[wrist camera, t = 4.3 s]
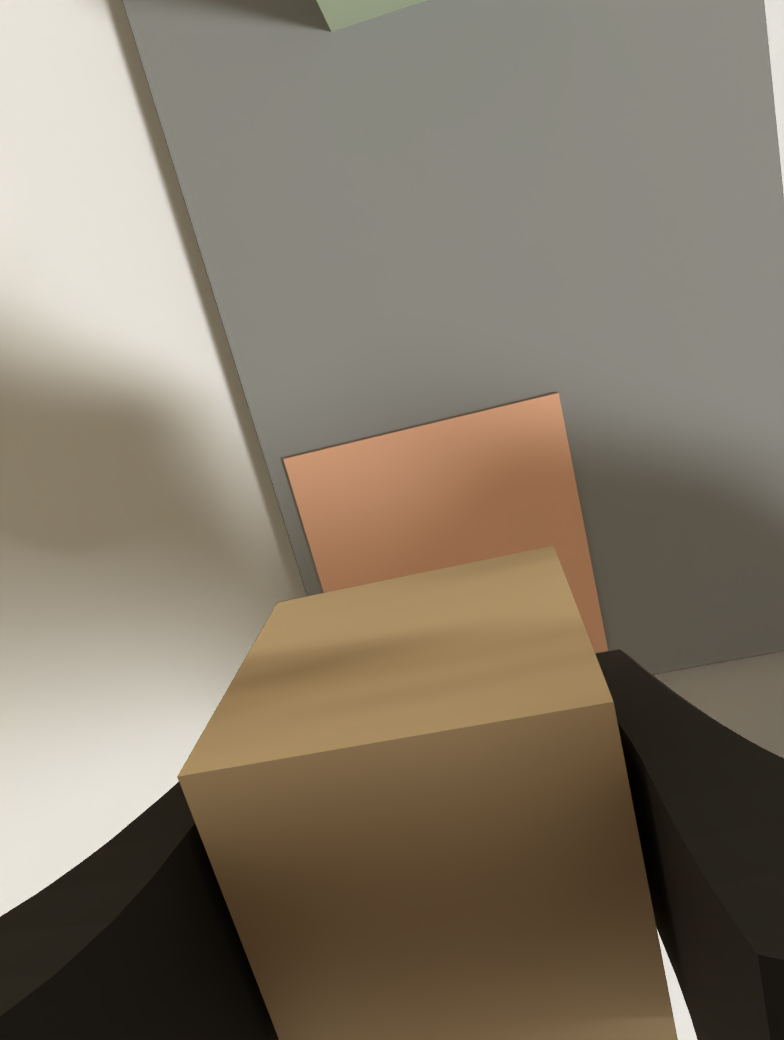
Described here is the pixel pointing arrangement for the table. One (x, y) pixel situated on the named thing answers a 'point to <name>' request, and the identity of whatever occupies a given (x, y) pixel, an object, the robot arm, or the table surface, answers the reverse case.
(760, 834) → the robot arm
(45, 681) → the table surface
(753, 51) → the mat
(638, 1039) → the maple block
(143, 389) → the table surface
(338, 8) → the sage block
